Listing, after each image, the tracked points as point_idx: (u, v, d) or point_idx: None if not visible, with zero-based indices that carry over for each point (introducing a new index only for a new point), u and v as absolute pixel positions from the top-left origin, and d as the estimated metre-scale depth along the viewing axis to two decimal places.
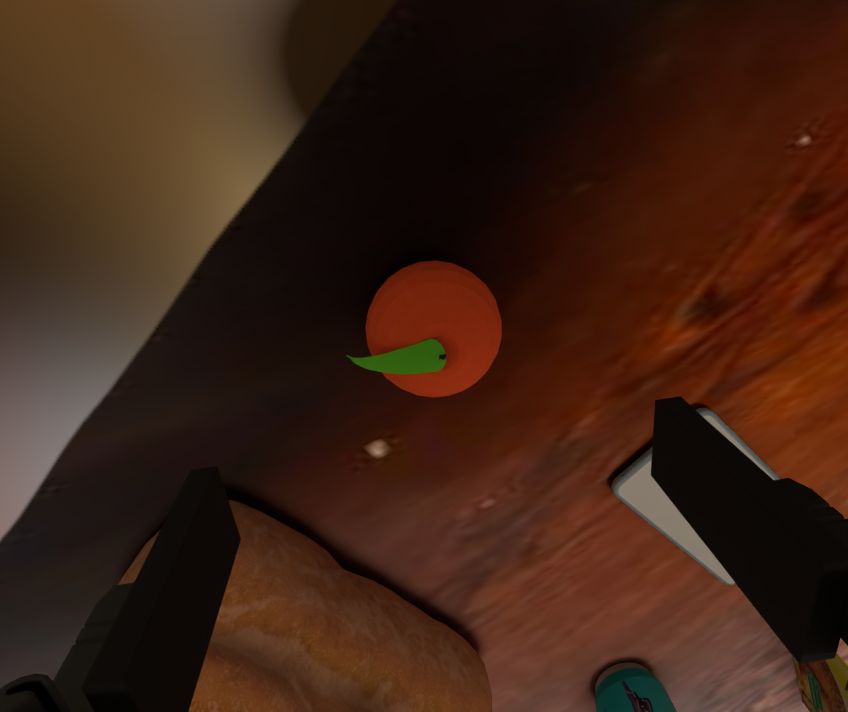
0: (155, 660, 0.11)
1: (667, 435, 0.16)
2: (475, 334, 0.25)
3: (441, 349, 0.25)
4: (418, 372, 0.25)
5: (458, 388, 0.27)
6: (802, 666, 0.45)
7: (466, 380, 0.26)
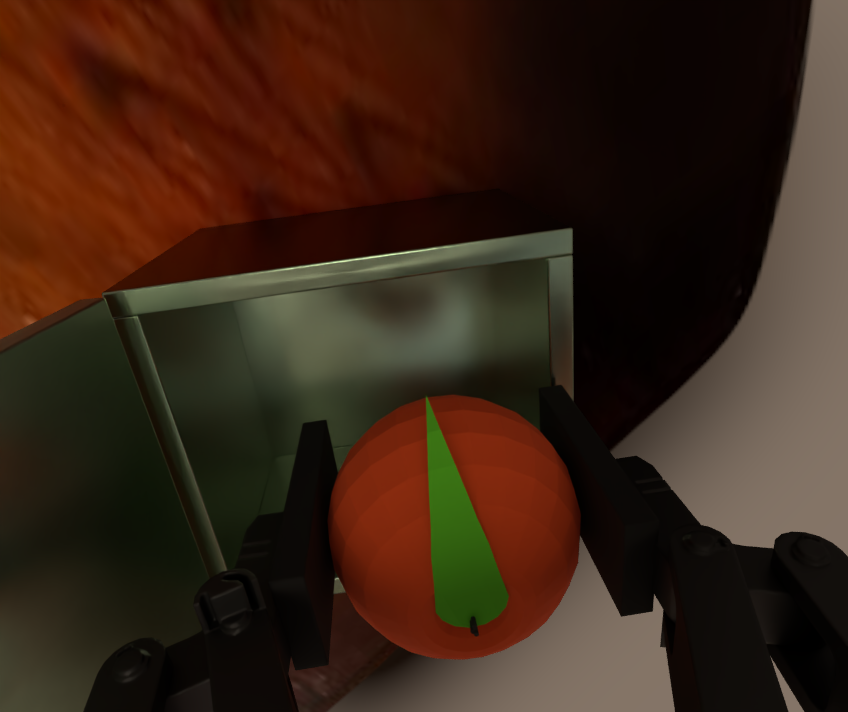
0: (315, 569, 0.13)
1: (546, 419, 0.17)
2: (500, 650, 0.13)
3: (486, 618, 0.12)
4: (434, 582, 0.12)
5: (377, 624, 0.13)
6: None
7: (401, 642, 0.13)
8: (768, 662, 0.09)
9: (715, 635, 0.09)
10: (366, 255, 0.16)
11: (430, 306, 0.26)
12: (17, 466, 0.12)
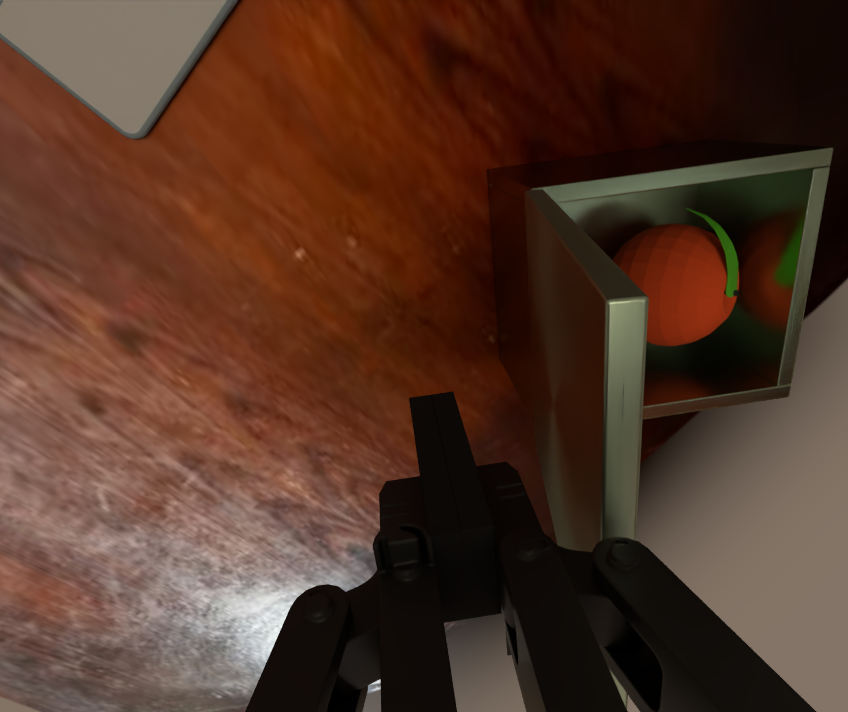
0: None
1: None
2: None
3: None
4: (727, 276, 0.28)
5: (698, 318, 0.28)
6: None
7: (707, 322, 0.29)
8: (598, 652, 0.09)
9: (551, 639, 0.10)
10: (699, 165, 0.24)
11: None
12: None
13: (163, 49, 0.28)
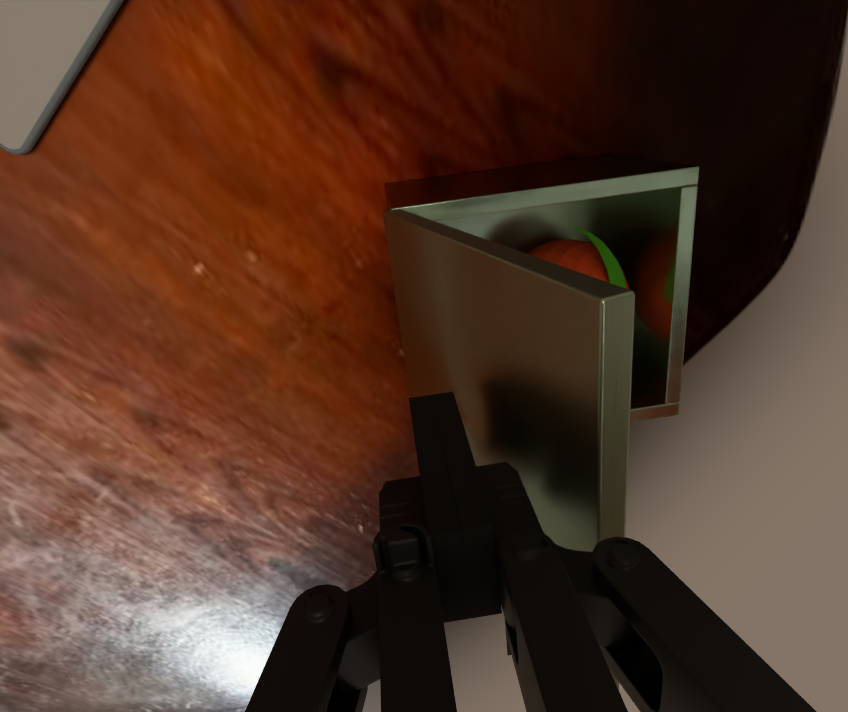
0: None
1: None
2: None
3: None
4: None
5: None
6: None
7: None
8: (598, 652, 0.09)
9: (551, 639, 0.10)
10: (563, 184, 0.24)
11: None
12: None
13: (39, 64, 0.27)
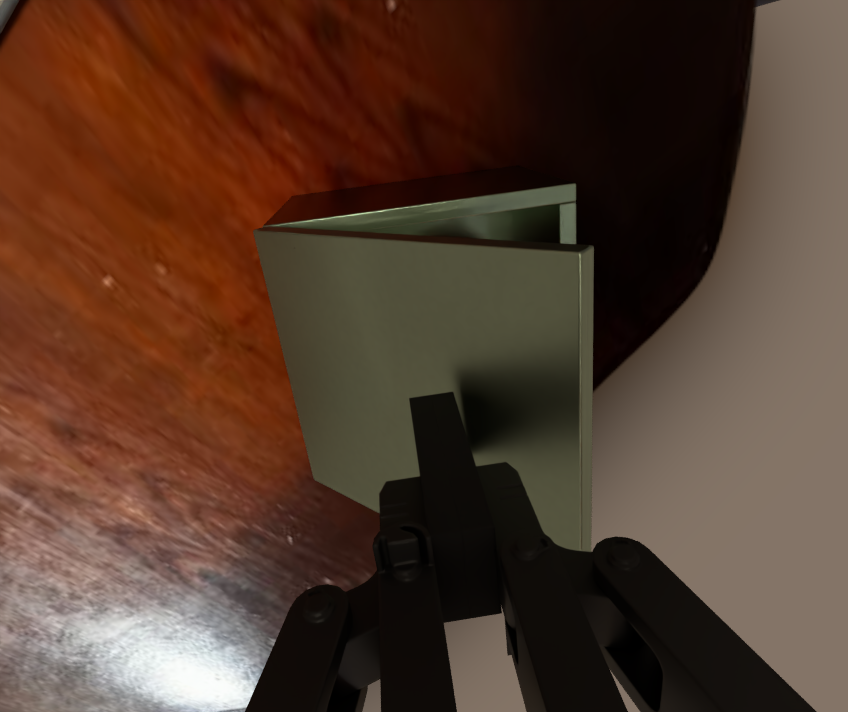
0: None
1: None
2: None
3: None
4: None
5: None
6: None
7: None
8: (598, 652, 0.09)
9: (551, 639, 0.10)
10: (437, 201, 0.23)
11: None
12: None
13: None
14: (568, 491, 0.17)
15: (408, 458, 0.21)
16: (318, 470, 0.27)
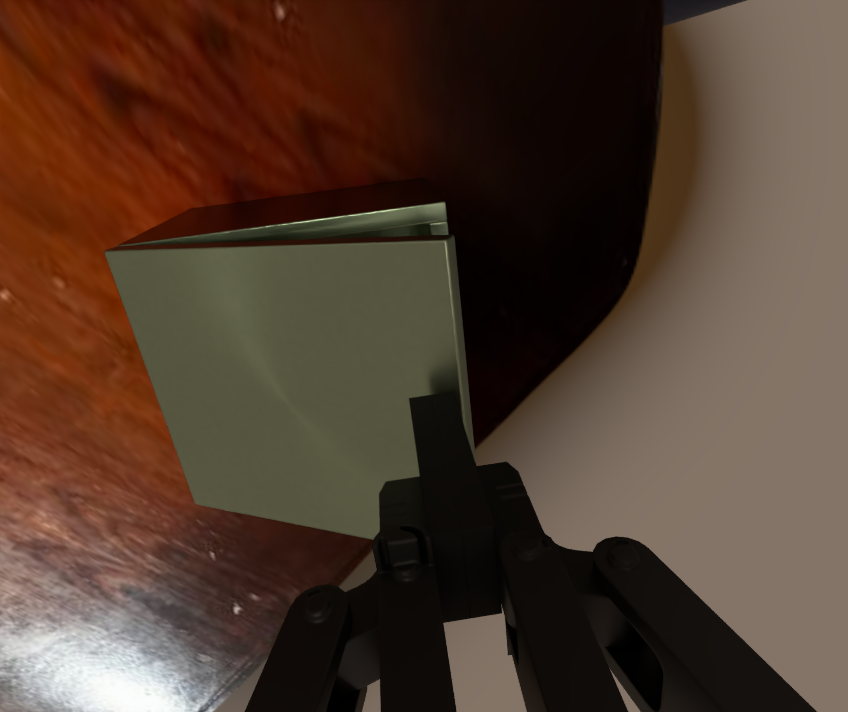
0: None
1: None
2: None
3: None
4: None
5: None
6: None
7: None
8: (598, 652, 0.09)
9: (551, 639, 0.10)
10: (300, 220, 0.23)
11: None
12: None
13: None
14: None
15: (301, 455, 0.22)
16: (200, 492, 0.26)
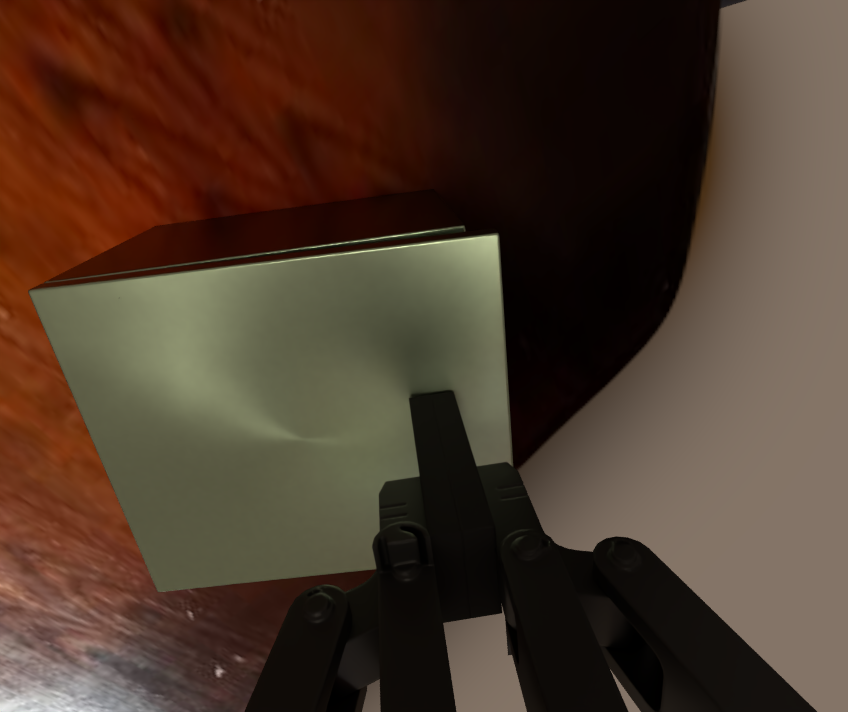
0: None
1: None
2: None
3: None
4: None
5: None
6: None
7: None
8: (598, 652, 0.09)
9: (551, 639, 0.10)
10: (279, 249, 0.18)
11: None
12: None
13: None
14: (500, 444, 0.19)
15: (316, 494, 0.20)
16: (167, 575, 0.21)
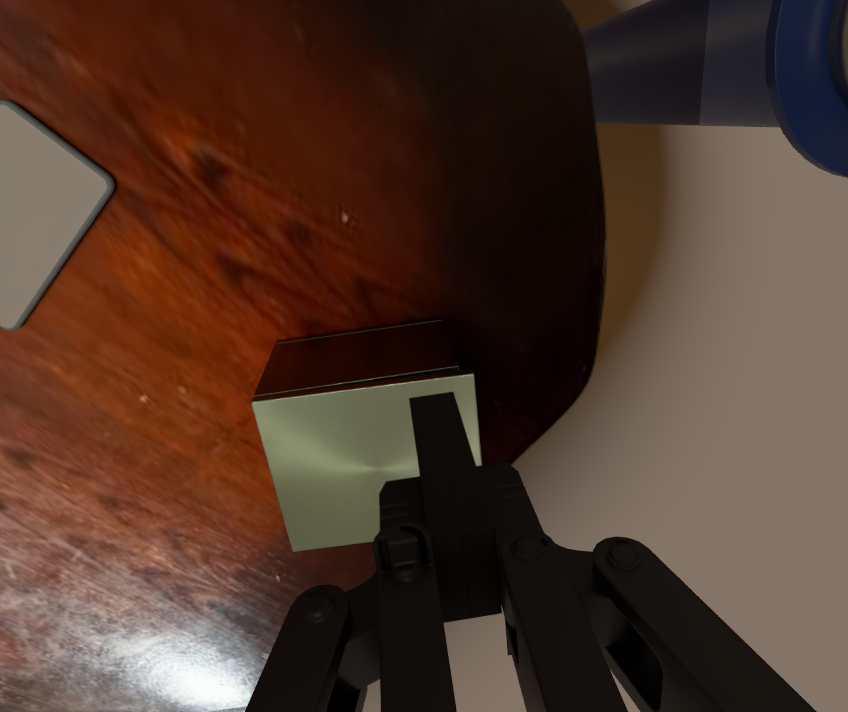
0: None
1: None
2: None
3: None
4: None
5: None
6: None
7: None
8: (598, 652, 0.09)
9: (551, 639, 0.10)
10: (367, 378, 0.36)
11: None
12: None
13: (26, 276, 0.40)
14: None
15: None
16: (299, 542, 0.40)
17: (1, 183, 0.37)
